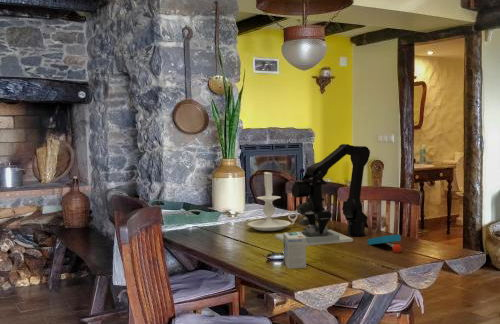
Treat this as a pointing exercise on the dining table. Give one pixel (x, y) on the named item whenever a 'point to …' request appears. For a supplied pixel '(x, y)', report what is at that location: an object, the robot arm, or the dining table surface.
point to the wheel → (303, 221)
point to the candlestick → (270, 210)
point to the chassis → (322, 238)
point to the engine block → (314, 231)
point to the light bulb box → (294, 250)
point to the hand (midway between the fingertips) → (316, 232)
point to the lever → (387, 241)
